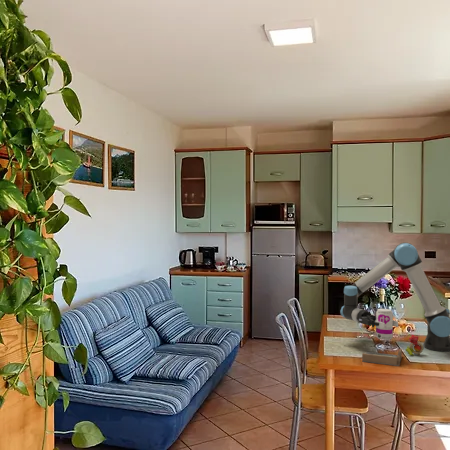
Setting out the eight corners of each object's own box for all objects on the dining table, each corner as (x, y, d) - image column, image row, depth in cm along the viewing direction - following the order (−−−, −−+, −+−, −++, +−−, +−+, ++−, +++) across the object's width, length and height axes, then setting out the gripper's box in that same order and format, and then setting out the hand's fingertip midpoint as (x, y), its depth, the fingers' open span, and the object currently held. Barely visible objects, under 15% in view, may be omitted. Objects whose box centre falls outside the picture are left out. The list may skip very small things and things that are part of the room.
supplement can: (390, 341, 231) (390, 312, 230) (374, 338, 235) (374, 310, 235) (394, 337, 238) (394, 309, 237) (378, 335, 242) (378, 307, 242)
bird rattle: (416, 356, 248) (401, 350, 248) (424, 338, 248) (409, 332, 248) (420, 360, 242) (405, 353, 242) (429, 341, 242) (413, 335, 242)
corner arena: (401, 356, 242) (401, 349, 242) (399, 366, 226) (399, 358, 226) (367, 352, 250) (367, 345, 250) (362, 361, 234) (362, 353, 234)
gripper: (376, 321, 257) (406, 330, 236) (346, 324, 249) (374, 334, 228) (376, 308, 257) (406, 316, 236) (346, 311, 249) (374, 319, 228)
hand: (390, 325), depth 232 cm, fingers closed on supplement can, 8 cm apart
